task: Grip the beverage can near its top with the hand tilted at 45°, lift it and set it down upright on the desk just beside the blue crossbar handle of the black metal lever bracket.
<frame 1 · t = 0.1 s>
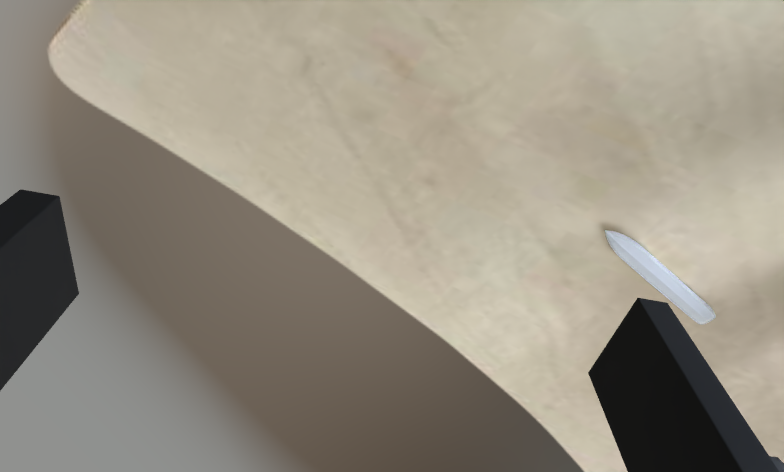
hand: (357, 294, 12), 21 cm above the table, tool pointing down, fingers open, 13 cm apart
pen: (654, 269, 37), on the table
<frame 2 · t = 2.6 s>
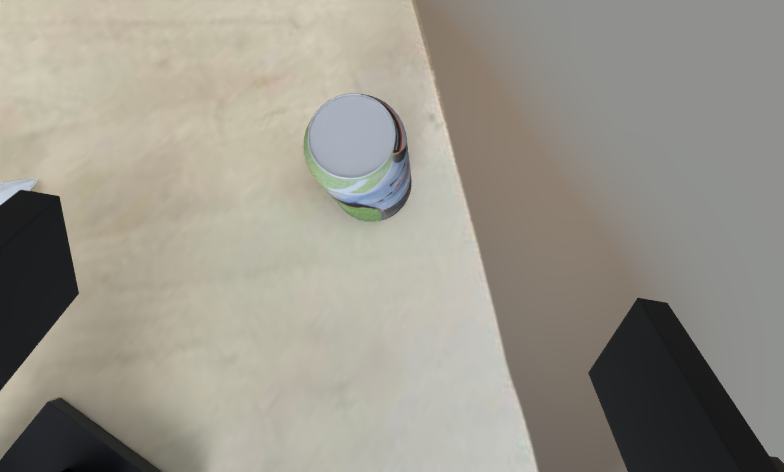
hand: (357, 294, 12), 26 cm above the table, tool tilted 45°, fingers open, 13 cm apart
beverage can: (362, 186, 39), on the table
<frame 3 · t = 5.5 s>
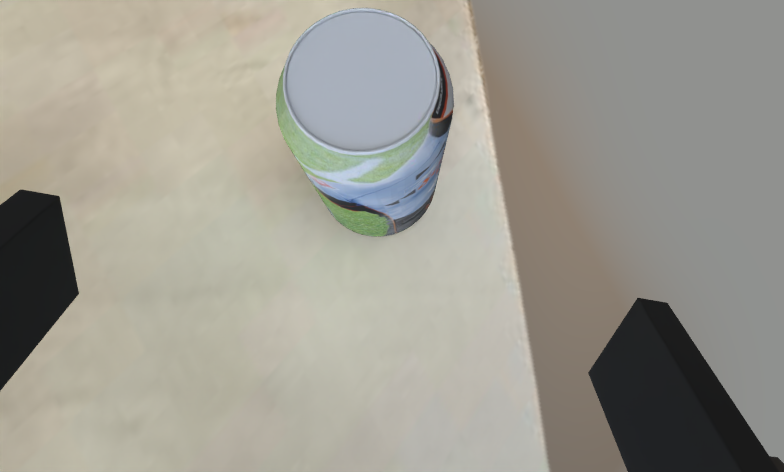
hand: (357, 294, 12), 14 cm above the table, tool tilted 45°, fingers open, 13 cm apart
beverage can: (362, 184, 27), on the table
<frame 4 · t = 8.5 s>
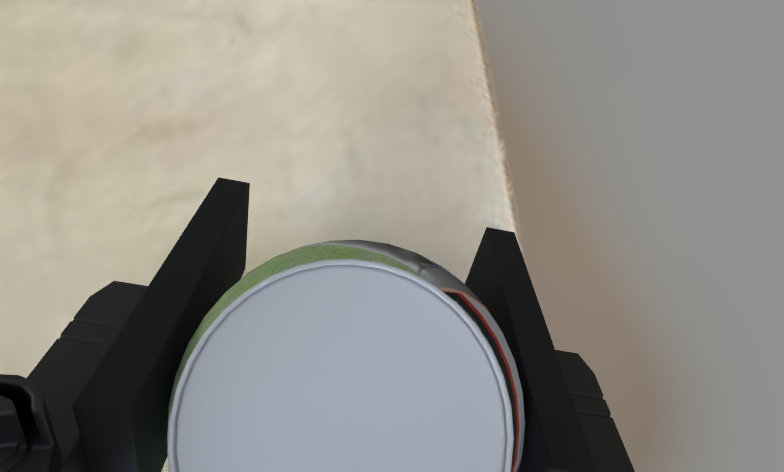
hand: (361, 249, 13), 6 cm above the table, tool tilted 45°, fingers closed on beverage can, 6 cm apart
beverage can: (341, 368, 19), on the table, touching gripper
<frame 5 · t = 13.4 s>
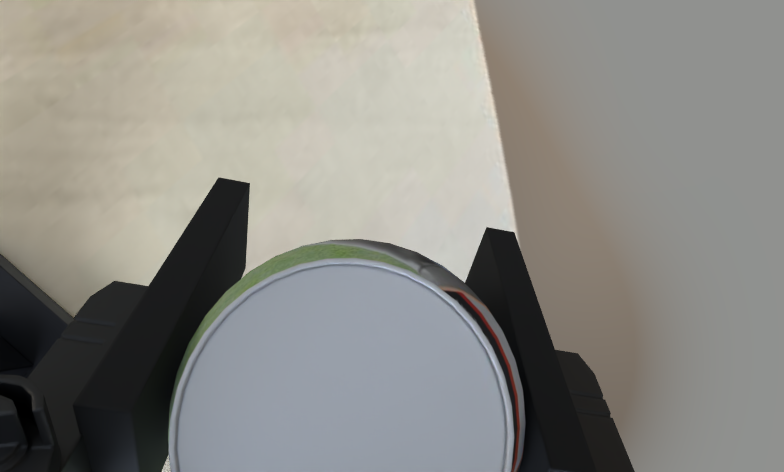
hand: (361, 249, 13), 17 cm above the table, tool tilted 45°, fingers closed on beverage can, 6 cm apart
beverage can: (342, 368, 19), point 11 cm above the table, touching gripper
when the fingers open (6 cm above the table, at t = 18.2 s): beverage can stays where it is, on the table.
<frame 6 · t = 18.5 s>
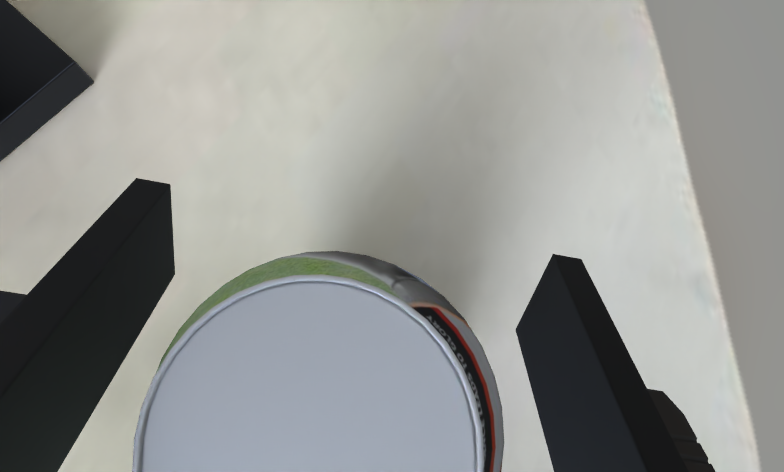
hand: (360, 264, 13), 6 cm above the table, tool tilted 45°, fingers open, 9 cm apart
beverage can: (341, 370, 18), on the table
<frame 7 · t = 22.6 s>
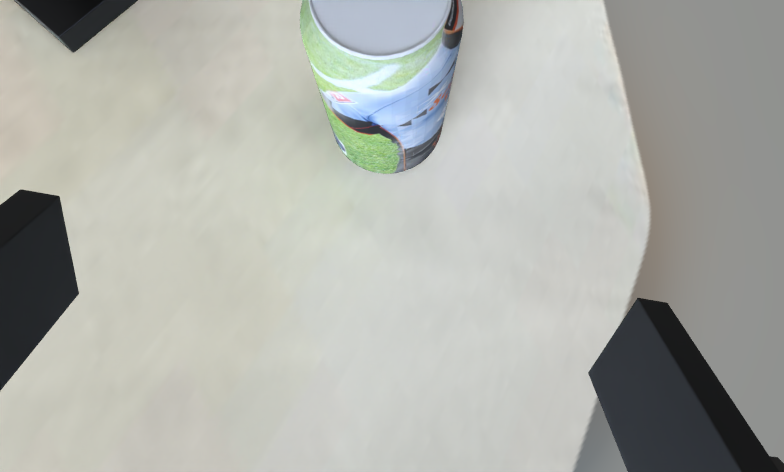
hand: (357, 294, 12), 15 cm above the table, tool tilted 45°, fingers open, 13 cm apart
beverage can: (372, 128, 28), on the table
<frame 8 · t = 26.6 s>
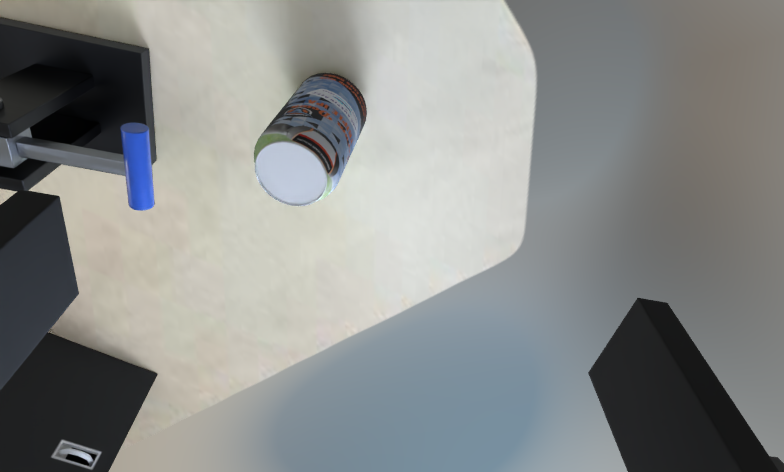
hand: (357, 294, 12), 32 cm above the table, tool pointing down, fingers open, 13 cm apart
beverage can: (325, 106, 42), on the table
binder: (31, 359, 60), on the table
bracket: (79, 93, 41), on the table
lever: (65, 154, 33), point 10 cm above the table, hinge at 0.0°
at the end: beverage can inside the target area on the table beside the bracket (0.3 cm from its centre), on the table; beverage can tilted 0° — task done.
